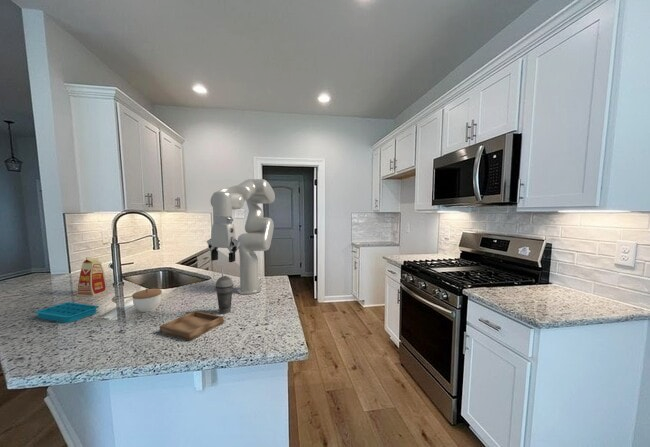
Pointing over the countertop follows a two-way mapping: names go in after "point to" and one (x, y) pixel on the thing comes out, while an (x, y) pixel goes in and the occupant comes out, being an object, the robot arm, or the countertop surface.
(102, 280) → the milk carton
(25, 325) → the countertop surface
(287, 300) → the countertop surface
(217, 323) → the walnut tray
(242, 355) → the countertop surface
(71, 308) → the ice cube tray
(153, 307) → the lidded jar
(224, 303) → the beverage cup
